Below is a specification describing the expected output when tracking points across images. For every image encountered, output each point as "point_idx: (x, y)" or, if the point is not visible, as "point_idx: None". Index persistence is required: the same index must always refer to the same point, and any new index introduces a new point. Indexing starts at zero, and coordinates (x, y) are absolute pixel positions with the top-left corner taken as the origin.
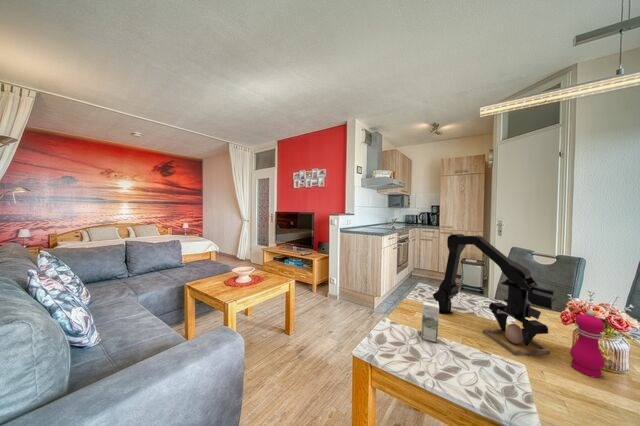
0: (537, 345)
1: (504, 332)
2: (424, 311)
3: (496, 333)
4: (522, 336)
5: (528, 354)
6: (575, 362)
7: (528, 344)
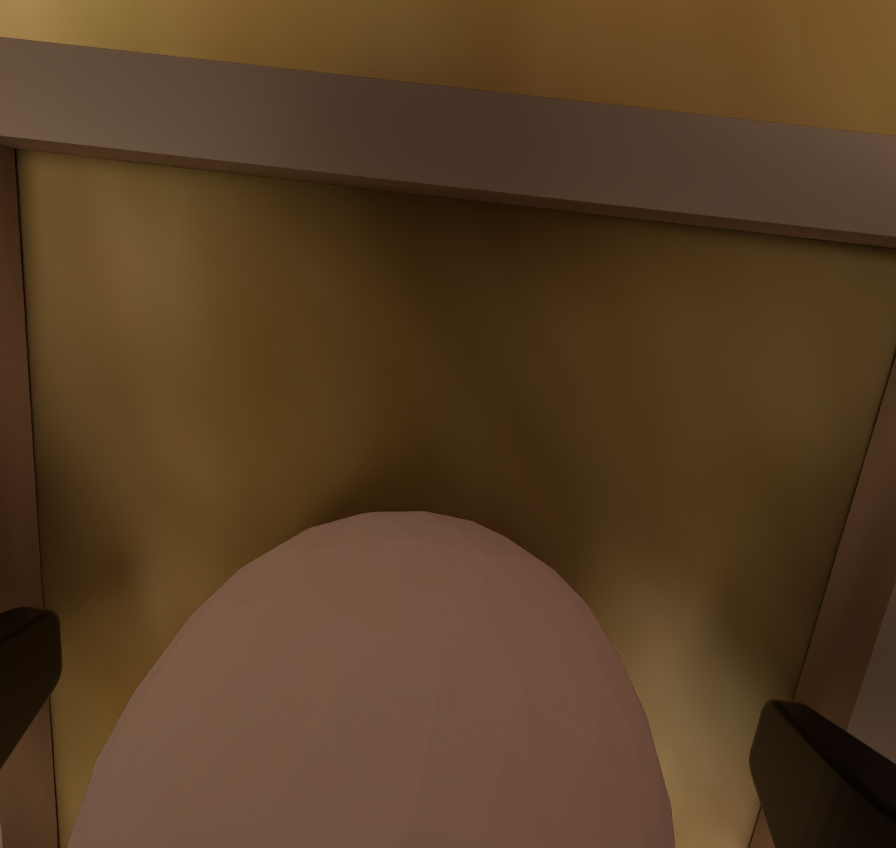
0: (764, 224)
1: (17, 446)
2: None
3: None
4: (671, 821)
5: None
6: None
7: (836, 733)
